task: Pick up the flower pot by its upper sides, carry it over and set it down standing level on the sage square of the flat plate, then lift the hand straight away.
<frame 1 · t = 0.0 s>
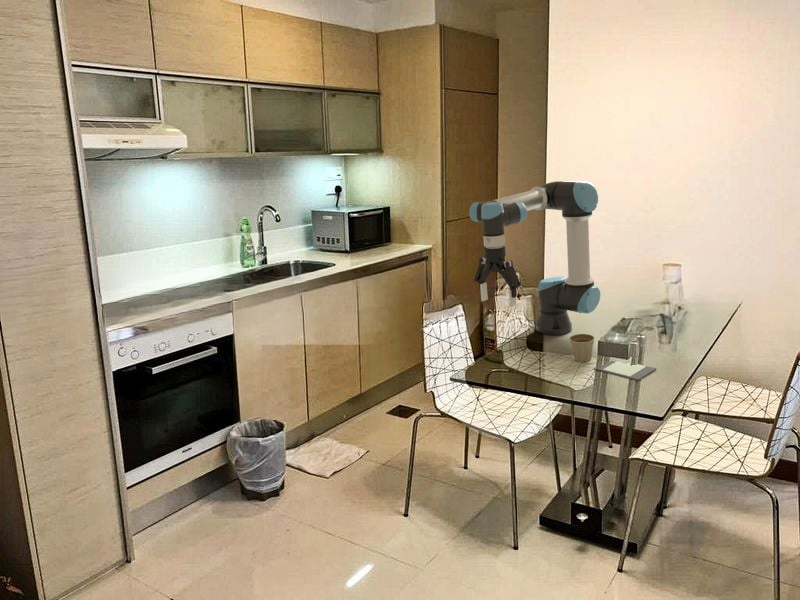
hand: (498, 303, 242), 28 cm above the table, tool pointing down, fingers open, 13 cm apart
flower pot: (582, 359, 255), on the table
flat plate: (624, 369, 242), on the table
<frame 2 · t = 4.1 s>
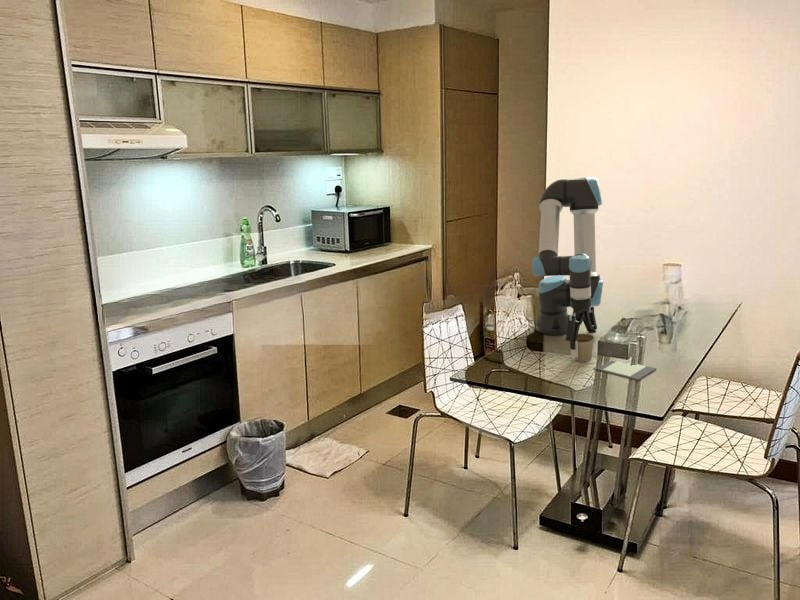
hand: (582, 352, 254), 3 cm above the table, tool pointing down, fingers closed on flower pot, 9 cm apart
flower pot: (582, 359, 255), on the table, touching gripper
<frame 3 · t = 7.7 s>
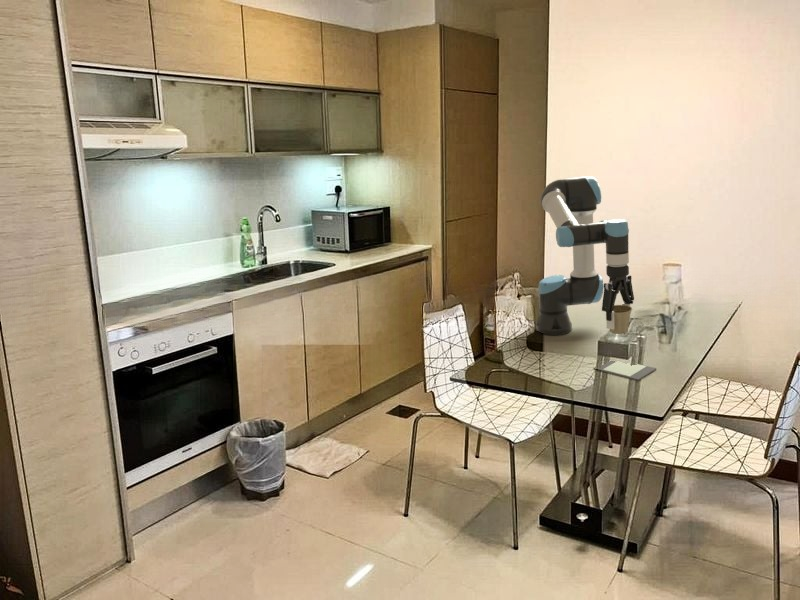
hand: (618, 324, 238), 17 cm above the table, tool pointing down, fingers closed on flower pot, 9 cm apart
flower pot: (618, 332, 239), point 14 cm above the table, touching gripper
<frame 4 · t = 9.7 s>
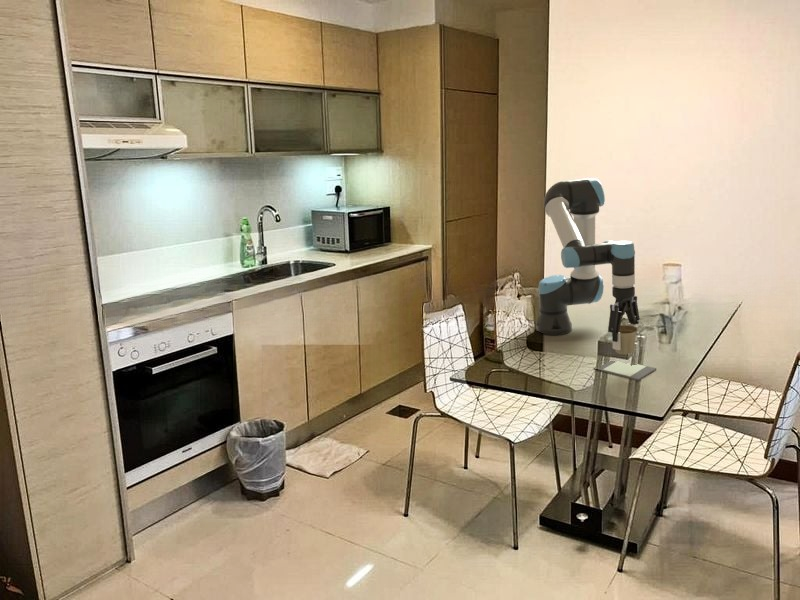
hand: (624, 345, 239), 10 cm above the table, tool pointing down, fingers closed on flower pot, 9 cm apart
flower pot: (624, 352, 240), point 7 cm above the table, touching gripper
when the fingers open (4 cm above the table, at t = 11.6 s): flower pot stays where it is, resting on flat plate.
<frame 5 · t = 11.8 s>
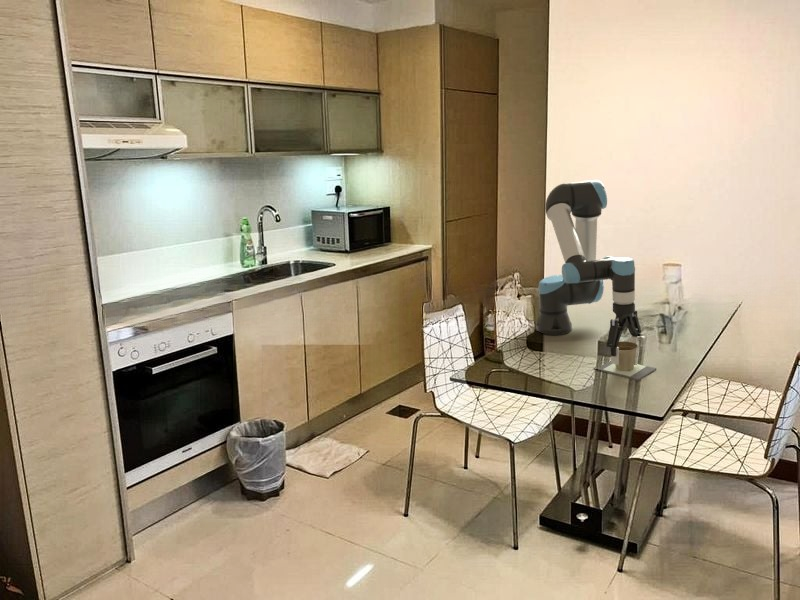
hand: (624, 358, 240), 4 cm above the table, tool pointing down, fingers open, 11 cm apart
flower pot: (624, 368, 242), resting on flat plate
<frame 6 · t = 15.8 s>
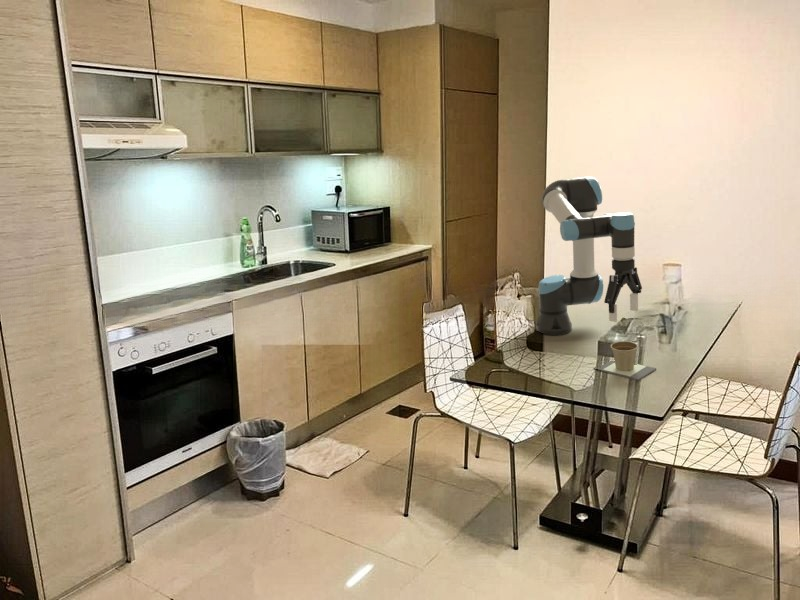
hand: (623, 315, 236), 21 cm above the table, tool pointing down, fingers open, 13 cm apart
nothing on the table moved.
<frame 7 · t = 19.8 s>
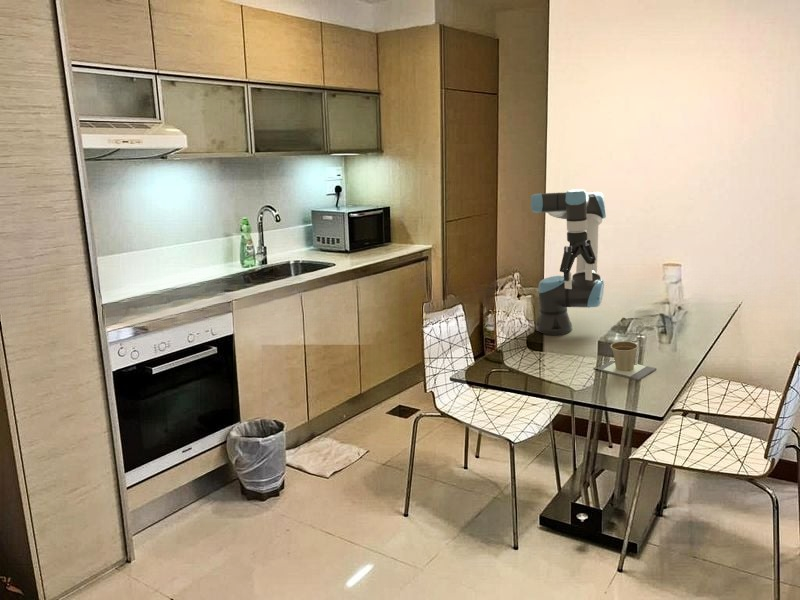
hand: (578, 284, 258), 27 cm above the table, tool pointing down, fingers open, 13 cm apart
nothing on the table moved.
at the end: flower pot inside the target area on the flat plate (0.1 cm from its centre), point 0.4 cm above the flat plate's base; flower pot tilted 0°; the gripper is holding nothing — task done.
